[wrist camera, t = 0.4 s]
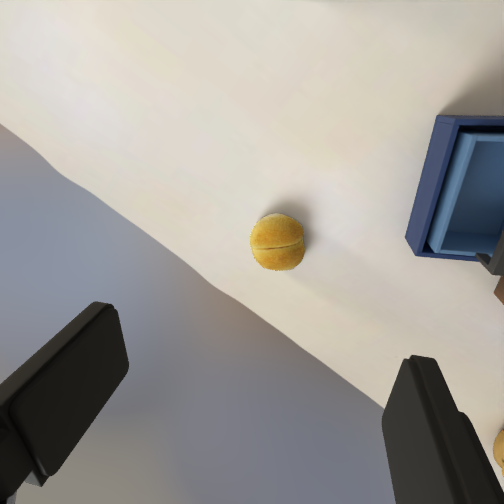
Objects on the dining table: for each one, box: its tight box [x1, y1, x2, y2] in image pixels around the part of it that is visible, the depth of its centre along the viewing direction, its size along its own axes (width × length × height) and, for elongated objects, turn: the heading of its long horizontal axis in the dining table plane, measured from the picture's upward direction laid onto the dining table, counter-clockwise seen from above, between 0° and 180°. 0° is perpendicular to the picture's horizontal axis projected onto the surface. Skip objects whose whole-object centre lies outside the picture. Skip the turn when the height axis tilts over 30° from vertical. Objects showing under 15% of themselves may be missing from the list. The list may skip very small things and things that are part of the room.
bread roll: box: [250, 214, 305, 271], centre depth 45 cm, size 8×9×4 cm
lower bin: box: [405, 115, 504, 262], centre depth 35 cm, size 16×12×6 cm
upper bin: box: [426, 129, 504, 276], centre depth 32 cm, size 13×10×11 cm
